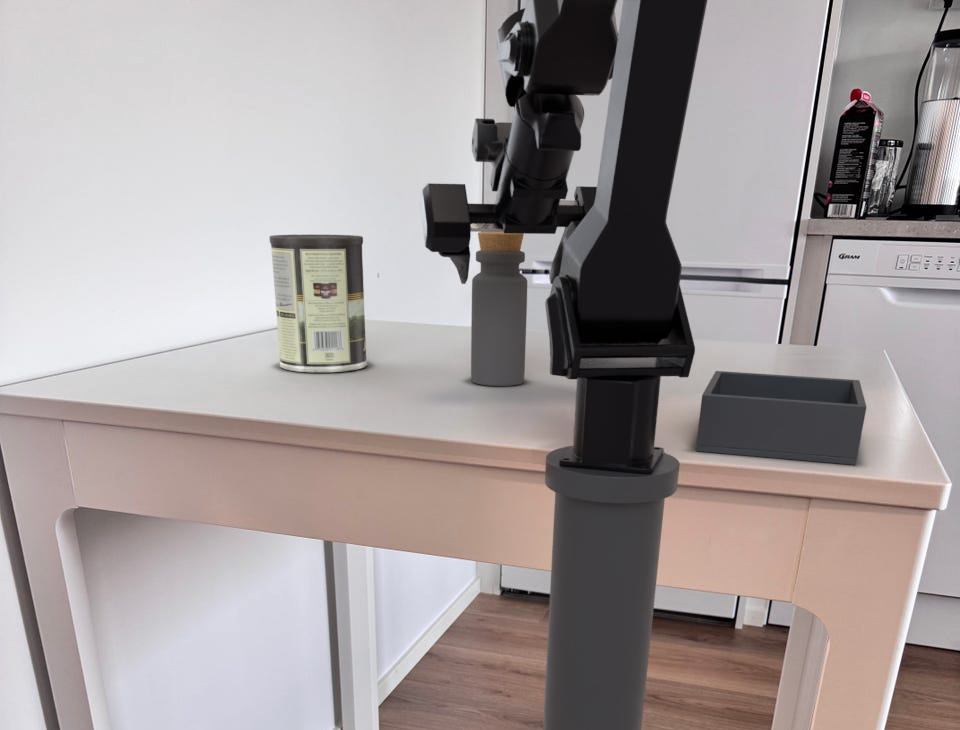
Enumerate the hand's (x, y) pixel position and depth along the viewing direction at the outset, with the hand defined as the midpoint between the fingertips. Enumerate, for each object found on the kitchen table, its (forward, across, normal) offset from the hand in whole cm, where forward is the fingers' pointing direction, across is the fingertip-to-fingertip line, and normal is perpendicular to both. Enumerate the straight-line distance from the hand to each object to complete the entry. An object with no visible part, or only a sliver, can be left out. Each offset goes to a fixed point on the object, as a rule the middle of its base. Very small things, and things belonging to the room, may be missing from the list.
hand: (507, 280), depth 96 cm
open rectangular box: (-11, -18, +26) cm, 34 cm away
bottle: (+10, 0, +5) cm, 11 cm away
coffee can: (+19, +18, -3) cm, 27 cm away
